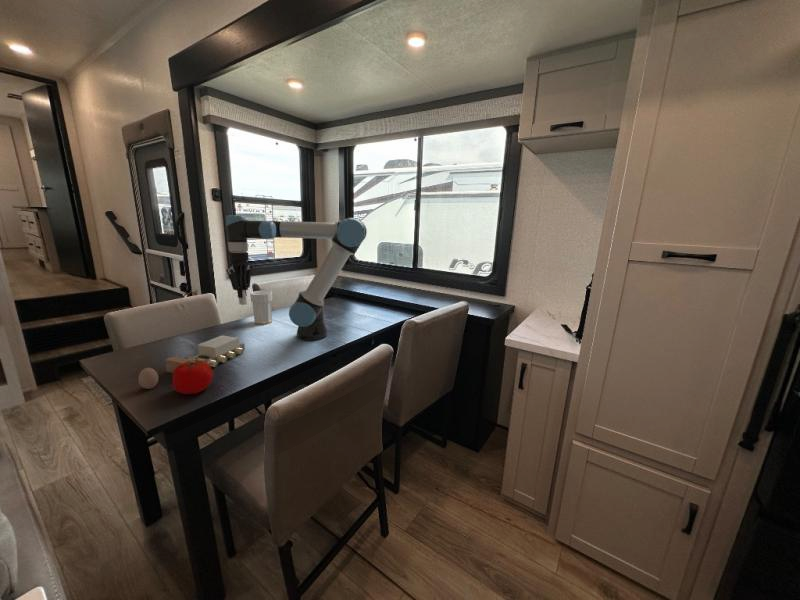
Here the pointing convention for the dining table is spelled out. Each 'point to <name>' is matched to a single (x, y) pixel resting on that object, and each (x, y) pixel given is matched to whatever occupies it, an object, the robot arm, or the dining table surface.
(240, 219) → the robot arm
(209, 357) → the rack with metal cylinders
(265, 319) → the cup
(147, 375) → the egg
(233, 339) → the paver
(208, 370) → the tomato
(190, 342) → the dining table surface
